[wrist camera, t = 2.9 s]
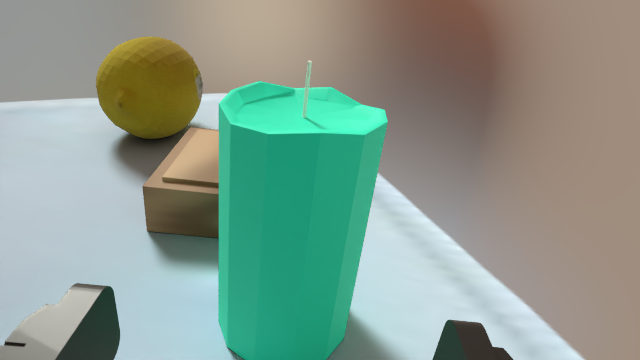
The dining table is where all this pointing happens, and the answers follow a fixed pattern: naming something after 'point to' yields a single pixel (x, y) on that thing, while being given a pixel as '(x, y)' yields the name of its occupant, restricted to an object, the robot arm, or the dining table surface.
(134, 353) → the dining table surface
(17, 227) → the dining table surface
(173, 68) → the lemon
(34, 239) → the dining table surface
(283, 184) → the candle
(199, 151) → the stand
